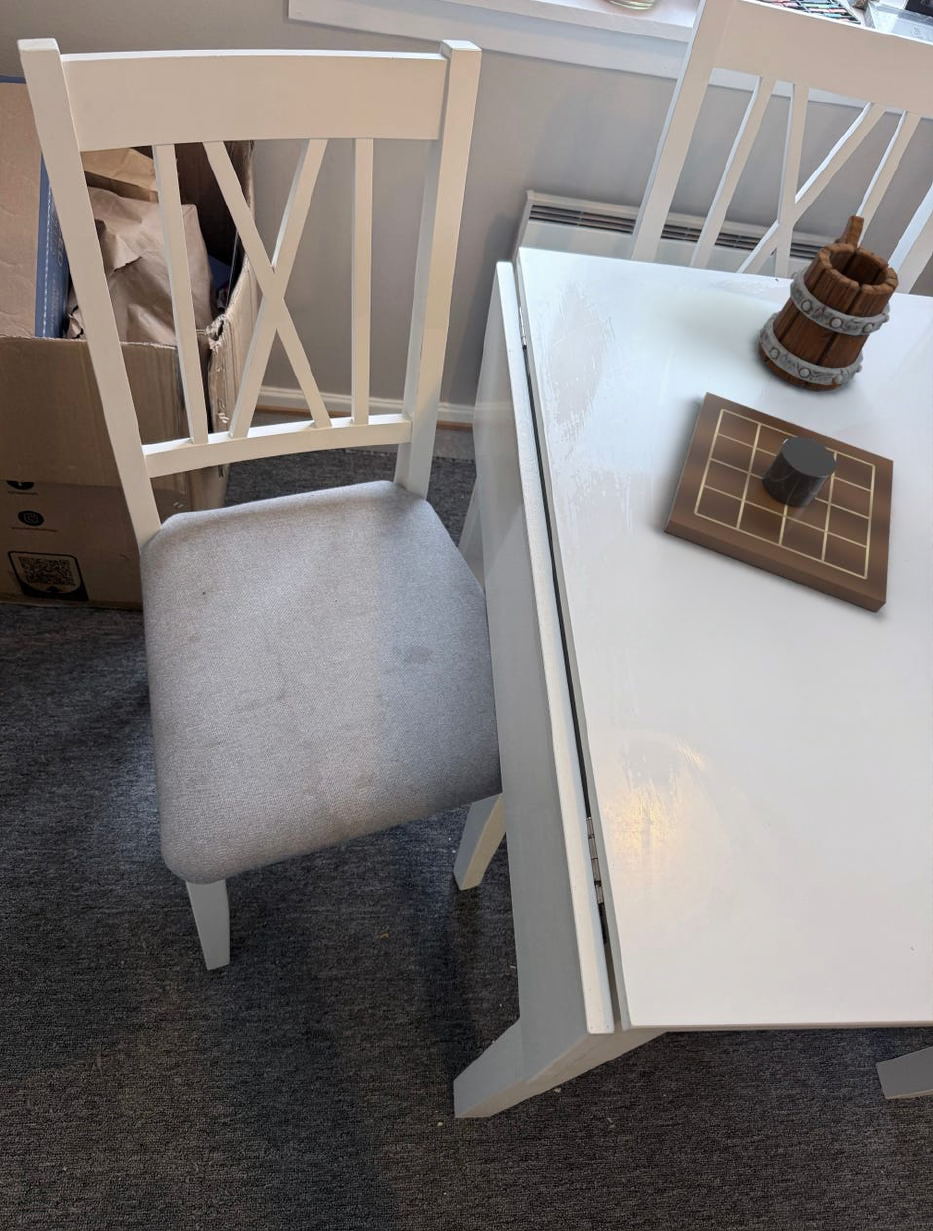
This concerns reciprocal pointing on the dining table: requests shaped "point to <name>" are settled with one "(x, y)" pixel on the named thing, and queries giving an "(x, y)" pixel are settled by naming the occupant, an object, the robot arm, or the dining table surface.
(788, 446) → the dark grey puck
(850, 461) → the board
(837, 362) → the mug
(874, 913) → the dining table surface
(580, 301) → the dining table surface
